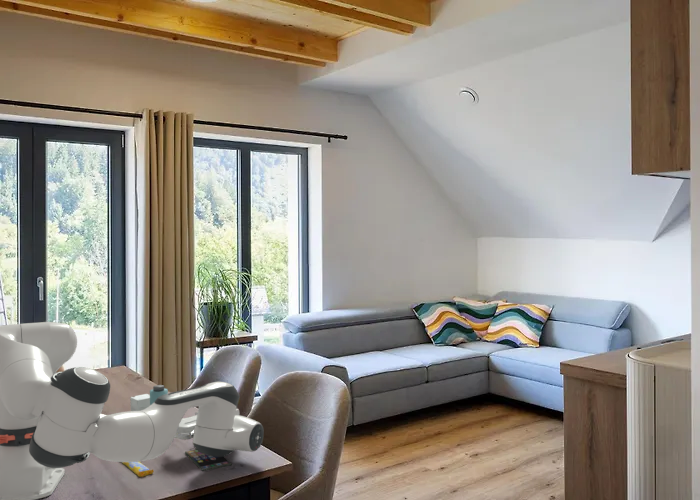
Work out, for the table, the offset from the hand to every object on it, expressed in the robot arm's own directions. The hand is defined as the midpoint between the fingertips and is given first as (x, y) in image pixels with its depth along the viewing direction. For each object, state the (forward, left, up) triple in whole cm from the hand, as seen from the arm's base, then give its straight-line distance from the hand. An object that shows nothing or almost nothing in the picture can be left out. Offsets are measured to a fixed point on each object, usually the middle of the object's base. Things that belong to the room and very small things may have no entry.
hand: (184, 418), depth 186 cm
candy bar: (-13, +15, -8) cm, 21 cm away
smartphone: (-15, -4, -8) cm, 18 cm away
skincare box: (+31, +9, -8) cm, 33 cm away
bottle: (+10, +6, -8) cm, 14 cm away
